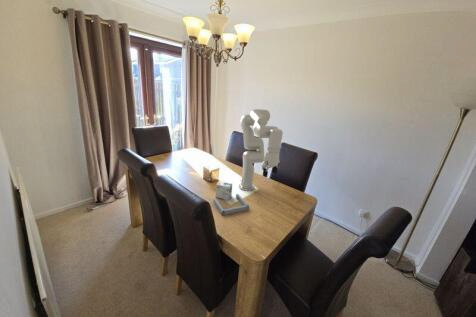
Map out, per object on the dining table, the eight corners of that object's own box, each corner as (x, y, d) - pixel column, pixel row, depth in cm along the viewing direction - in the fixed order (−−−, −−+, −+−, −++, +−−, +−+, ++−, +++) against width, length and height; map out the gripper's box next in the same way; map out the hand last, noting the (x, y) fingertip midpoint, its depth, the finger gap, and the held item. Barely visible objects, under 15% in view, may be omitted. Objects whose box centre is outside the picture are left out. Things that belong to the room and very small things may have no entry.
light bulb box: (231, 196, 154) (232, 183, 151) (228, 200, 148) (229, 187, 145) (218, 193, 157) (219, 180, 153) (215, 197, 151) (215, 184, 147)
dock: (213, 201, 145) (213, 198, 144) (237, 197, 153) (238, 193, 152) (222, 215, 130) (222, 211, 129) (248, 209, 139) (249, 205, 138)
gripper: (276, 145, 132) (272, 169, 138) (259, 149, 120) (256, 175, 126) (286, 148, 127) (282, 173, 133) (269, 153, 115) (265, 180, 121)
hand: (269, 174), depth 129 cm, fingers open, 9 cm apart
